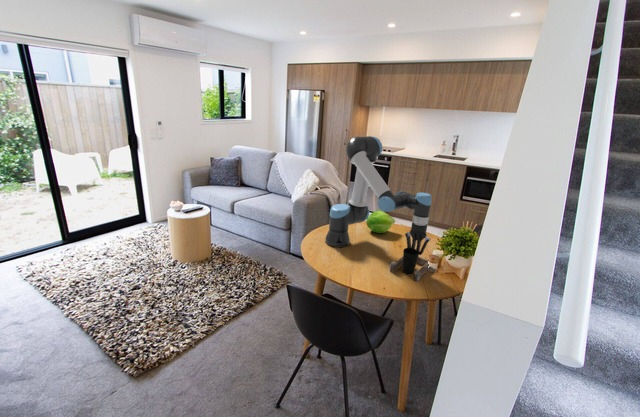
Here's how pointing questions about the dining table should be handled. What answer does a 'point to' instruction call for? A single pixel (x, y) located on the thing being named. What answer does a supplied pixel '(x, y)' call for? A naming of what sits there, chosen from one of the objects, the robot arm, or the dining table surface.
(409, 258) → the cup
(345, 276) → the dining table surface
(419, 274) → the grey u-shaped frame
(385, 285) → the dining table surface
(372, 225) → the lettuce
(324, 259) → the dining table surface
